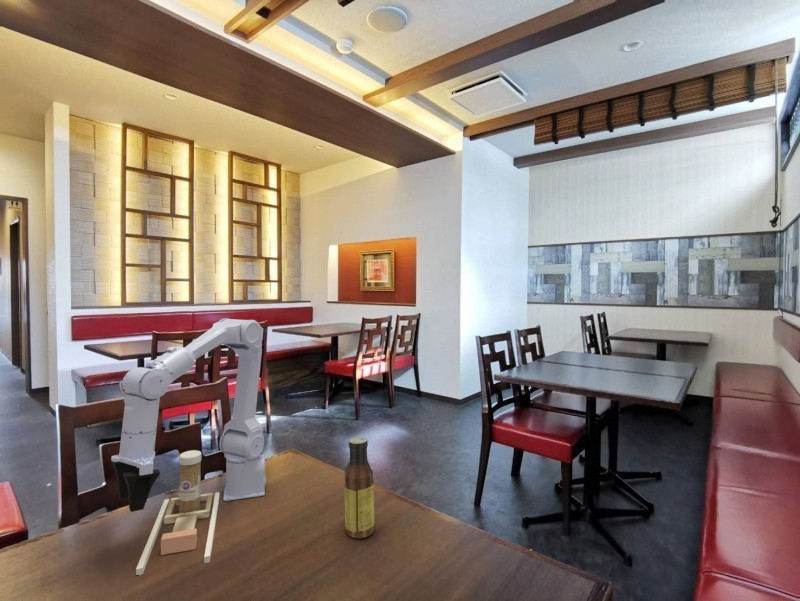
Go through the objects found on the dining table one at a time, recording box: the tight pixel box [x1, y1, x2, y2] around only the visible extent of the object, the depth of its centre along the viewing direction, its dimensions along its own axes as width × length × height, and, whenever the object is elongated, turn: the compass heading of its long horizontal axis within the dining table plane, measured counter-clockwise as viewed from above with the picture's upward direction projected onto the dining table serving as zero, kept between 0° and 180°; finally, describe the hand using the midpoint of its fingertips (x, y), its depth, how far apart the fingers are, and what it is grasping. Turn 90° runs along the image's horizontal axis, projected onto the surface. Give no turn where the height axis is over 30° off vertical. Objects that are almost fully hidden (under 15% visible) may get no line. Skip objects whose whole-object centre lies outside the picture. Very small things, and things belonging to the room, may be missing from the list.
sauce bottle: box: [343, 436, 375, 539], centre depth 88 cm, size 7×6×20 cm
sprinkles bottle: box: [178, 449, 202, 514], centre depth 95 cm, size 5×5×14 cm
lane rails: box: [135, 491, 221, 576], centre depth 87 cm, size 12×26×1 cm, turn 20°
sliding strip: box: [160, 492, 214, 556], centre depth 90 cm, size 9×20×3 cm, turn 20°
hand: (131, 503), depth 79 cm, fingers open, 7 cm apart
